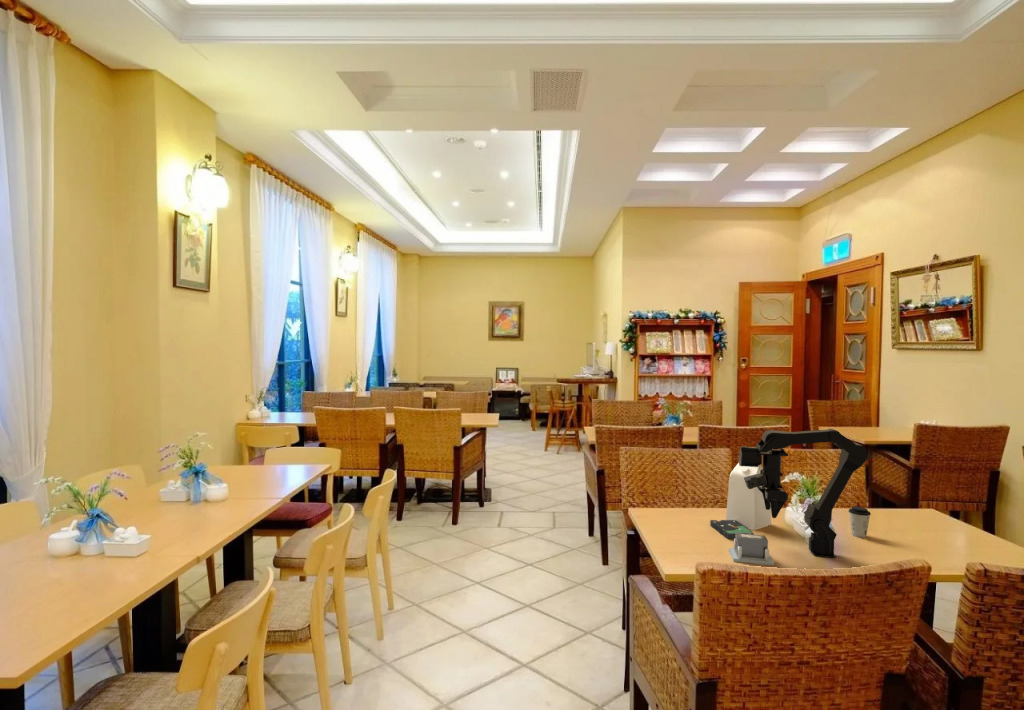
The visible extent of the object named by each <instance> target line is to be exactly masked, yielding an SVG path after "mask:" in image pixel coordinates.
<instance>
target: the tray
mask: <svg viewBox="0 0 1024 710" xmlns="http://www.w3.org/2000/svg"><path fill="white" fill-rule="evenodd" d="M728 552H729V554H730V556H731V559H732V561H733V562H736V563H744V564H745V563H746V564H756V565H767V566H775V561H774V560H773V558H772V556H771V555H770V549H769V548H768V549H765V559H762V558H751V557H742V547H740V546H738V556H737V554H736V552H735V539H733V548H732V547H731V548H730V547H728Z"/></svg>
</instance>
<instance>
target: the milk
mask: <svg viewBox="0 0 1024 710" xmlns="http://www.w3.org/2000/svg"><path fill="white" fill-rule="evenodd" d="M762 468H763V466H762V465H761V464H760V465H758V467H747V466H740V465H739V462H738V463H737V464H736V465H735V466H734V468H733V469H732V470H731V472H730V474H729V479H728V486H727V487H728V489H727V491H728V492H727V500H726V513H725V514H726V516H725V520H736V521H738V522H739V523H741V524H742V525H744V526H745V527H747V528H748V529H750V530H751V531H756V530H759V529H762V528H767V527H769V526H771V525H772V514H771V508H770V510H766V508H765V503H764V499H763V494H762V492H761V491H760V490H759V489H758V488H757V487H755V488H753V489H748V487H747V486H746V483H745V480H744V477H747V476H751V475H755V474H760V470H761V469H762ZM768 525H769V526H768Z"/></svg>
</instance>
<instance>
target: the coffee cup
mask: <svg viewBox="0 0 1024 710" xmlns="http://www.w3.org/2000/svg"><path fill="white" fill-rule="evenodd" d="M848 514H849V515H848V516H849V523H850V524H849V525H850V531H851V532H850V534H851V535H852V537H856V538H867V536H868V535H867V534H868V528H869V522H870V518H871V517H870V516H871V515H872V514H871V511H869V510H868V509H867V508H865V507H863V506H855V505H854V506H852V507H851V508H849V509H848Z"/></svg>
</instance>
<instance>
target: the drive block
mask: <svg viewBox="0 0 1024 710" xmlns="http://www.w3.org/2000/svg"><path fill="white" fill-rule="evenodd" d="M738 546H740V547H742V557H751V558H762V559H765V549H769V539H768V538H767V536H766V535H765V534H763V535H761V534H755V535H753V534H741V533H735V552H736V554H737V556H738Z"/></svg>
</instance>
